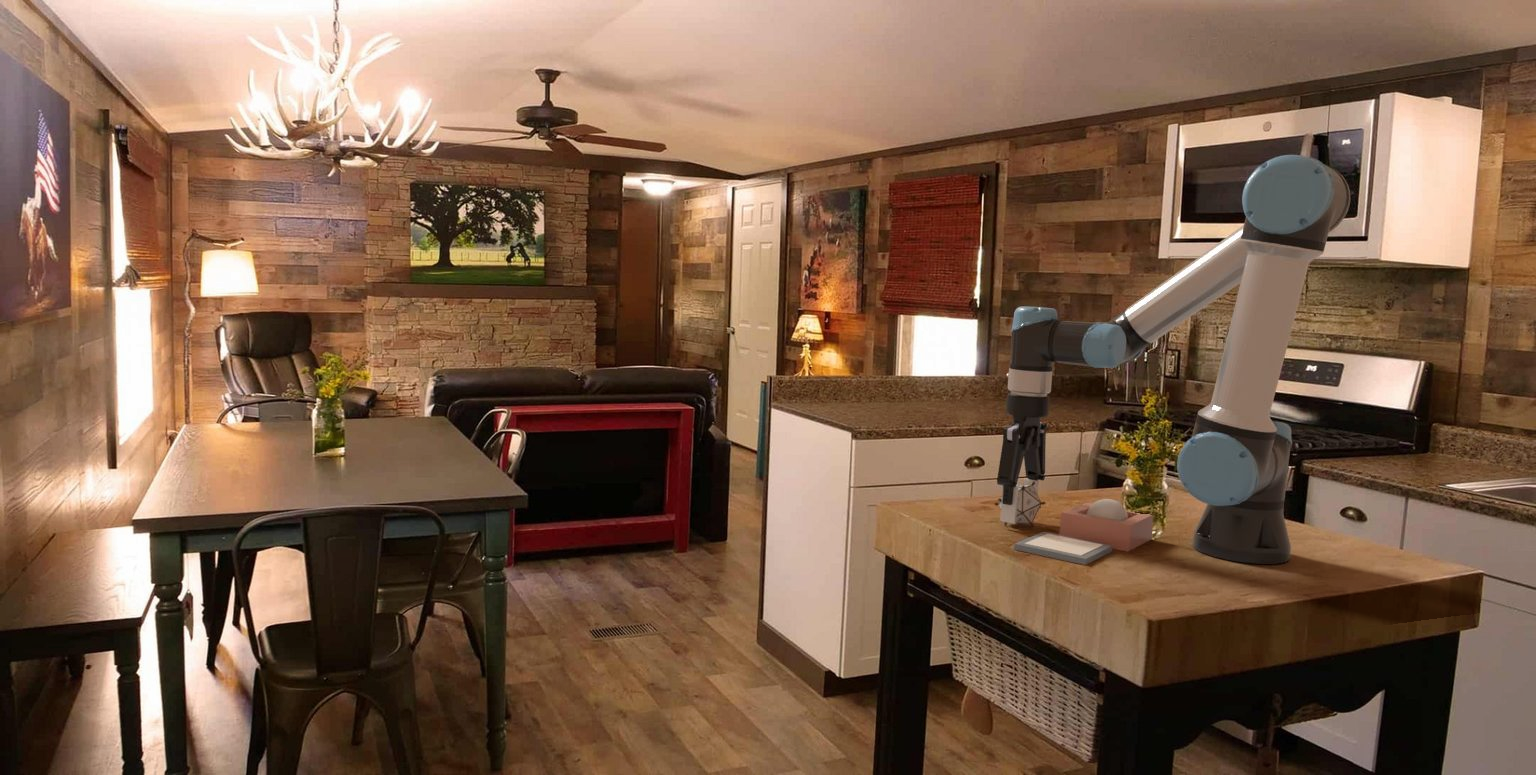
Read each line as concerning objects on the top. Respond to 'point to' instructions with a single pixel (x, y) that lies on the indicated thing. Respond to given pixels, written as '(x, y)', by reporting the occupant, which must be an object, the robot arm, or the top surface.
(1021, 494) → the game die
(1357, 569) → the top surface
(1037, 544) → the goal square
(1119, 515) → the white ball
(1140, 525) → the pink open box
